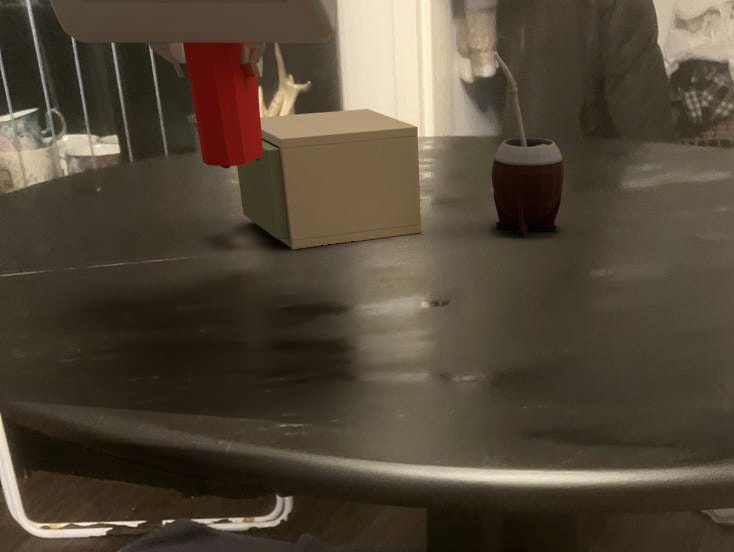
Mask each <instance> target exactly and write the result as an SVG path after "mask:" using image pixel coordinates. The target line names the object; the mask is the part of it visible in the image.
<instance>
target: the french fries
mask: <svg viewBox="0 0 734 552" xmlns="http://www.w3.org/2000/svg"><path fill="white" fill-rule="evenodd" d="M183 47H184V53H185V59H186V65H187V70H188V76H189V77H188V80H189V88H190V94H191V98H192V105H193V111H194V116H195V123H196V128H197V135H198V139H199V140H198V141H199V146H200V151H201V157H202V162H203V164H204V165H207V166H211V167H212V166H215V167H221V166H229V167H230V166H231V167H237V165H245V164H248V163H250V162H252V161H254V160H256V159H258V158H260V157H261V156H263V144H262V132H261V119H260V117H261V110H260V108H261V107H260V98H259V97H260V95H259V83H258V77H246V76H245V74H244V72H243V70H242V68H241V66H240V64H239V61H240V57H241V52H242V47H243V43H183ZM231 167H230V168H231Z"/></svg>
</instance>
